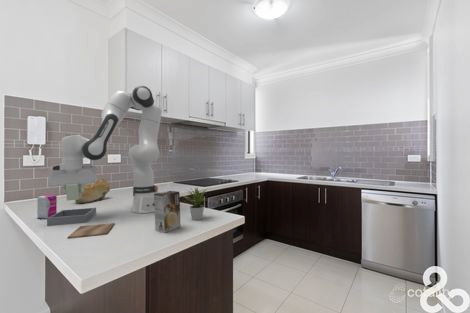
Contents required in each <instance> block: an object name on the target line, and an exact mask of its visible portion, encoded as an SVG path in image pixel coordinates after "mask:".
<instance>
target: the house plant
mask: <svg viewBox="0 0 470 313" xmlns="http://www.w3.org/2000/svg"><path fill="white" fill-rule="evenodd" d="M208 189H210V188H209V187H207V188H203V189H201V190H199V188H198V187H195V188H194V190H193V189H192V188H190V190H191V191H192V192H191V191H190V190H188V189H187V190H186V189H185V192H187V194H188V195H190V196H186V195H181V197H183V198H185V199H186V200H184V203H185V202H186V201H187V202H190V203H191V204H192V205H190V206H189V209H190V214H191V220H193V221H200V220H203V216H204V209H205V205H203V204H202V203H203V202H205V201H207V198H205V197H204V196H205V195H206V192H207V190H208Z"/></svg>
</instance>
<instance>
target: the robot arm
mask: <svg viewBox="0 0 470 313" xmlns="http://www.w3.org/2000/svg"><path fill="white" fill-rule="evenodd" d="M154 103H155V99H154V97H153V93H152V90H151V89H150V88H149V87H147V86H145V85H138V86H136V87H135V88H134V89H133V90H132V92H130V93H128V92H126V91H123V90H116V91H115V92H114V93H113V94H112V95H111V96H110V98H109V99H108V100H107V101H106V104H105V105H104V107H103V110H102V112H101V123H100V125H99V127H98V128H97V130H96V132H95V134H94V135H93V137H91V139H89V138H86V137H83V136H82V135H81V134H77V133H76V134H75V133H74V134H67V135H65V136H63V137H62V138H61V141H60V153H61V154H62V158H61V163H58V164H55V165H51V166H50V167H49V171H50V172H49V173H48V181H47V182H48V184H49V186H51V187H53V186H60V187H61V188H62V190H63V192H64V195H67V194H66V184H81V186H83V187H82V188H81V189H79V193H83V192H84V188H85V186H86V185H87V184H95V183H96V182H97V181H98V179H97V178H98V177H97V174H96V173H97V167H96V166H94V165H84V158H86V159H88V160H90V161H98V160H101V159H102V158H103V157H104V156H105V155H106V153H107V144H108V142H109V139H110V137H111V135H112V134H113V132H114V130H115V129H116V128H117V126H118V125H119V124H121V122H122V121H123V120H124V118H125V117H126V115H127V113H128V111H129V110H130V109H133V110H136V111H141V119H140V122H139V126H138V131H137V133H138V139H139V140H138V141H139V142H138V144H136V145H133V146H131V147H130V148H129V150H128V156H129V159H130V164H131V167H132V171H133V186H132V195H133V201H132V206H131V212H133V213H140V214H148V213H155V202H154V194H156V193H160V192H159V191H158V190H159V186H158V185H156V184H155V175H154V174H155V173H154V171H153V169H152V165H151V163H152V162H155V161H157V160H158V159H159V157H160V149H159V147H158V136H159V132H160V131H159V130H160V127H161V126H160V125H161V121H162V109H161V108H160V106H158V105H157V104H154Z"/></svg>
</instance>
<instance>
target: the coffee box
mask: <svg viewBox="0 0 470 313" xmlns="http://www.w3.org/2000/svg"><path fill="white" fill-rule="evenodd" d="M180 196H181V194H180V191H175V190H167V191H163V192H159V193H156V194H154V202H155V212H154V223H155V224H154V228H155V229H154V231H156V232H160V233H164V234H166V233H168V232H171V231H173V230H176V229H178V228H180V227H181V203H180V201H181V200H180V198H181V197H180Z"/></svg>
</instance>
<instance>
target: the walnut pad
mask: <svg viewBox="0 0 470 313" xmlns="http://www.w3.org/2000/svg"><path fill="white" fill-rule="evenodd" d="M115 225H116V223H115V222H111V223H109V222H108V223H100V224H90V225H89V224H87V225H80V226H79V227H78V228H76V229H75V230H74V231H73V232H72V233H70V234H69V235H68V236H67V239H76V238H77V239H78V238H85V237H86V238H88V237H94V236H95V237H96V236H104V235H108V234H109V233H110V231H111V230H112V229H113V228H114V226H115Z"/></svg>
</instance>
